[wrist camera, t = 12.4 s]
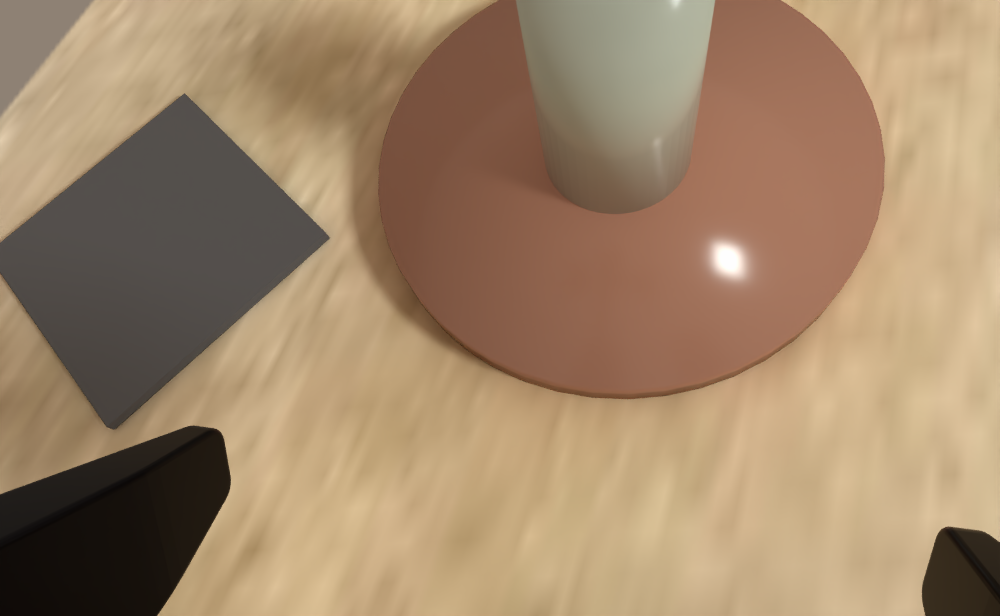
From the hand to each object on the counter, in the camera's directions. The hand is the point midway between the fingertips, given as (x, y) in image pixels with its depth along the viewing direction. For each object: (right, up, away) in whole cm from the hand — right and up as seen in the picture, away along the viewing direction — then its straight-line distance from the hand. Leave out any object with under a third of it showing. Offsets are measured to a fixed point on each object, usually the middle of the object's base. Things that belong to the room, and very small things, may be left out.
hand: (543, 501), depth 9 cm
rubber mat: (-14, +5, +18) cm, 24 cm away
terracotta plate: (+4, +7, +17) cm, 19 cm away
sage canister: (+3, +8, +15) cm, 18 cm away
